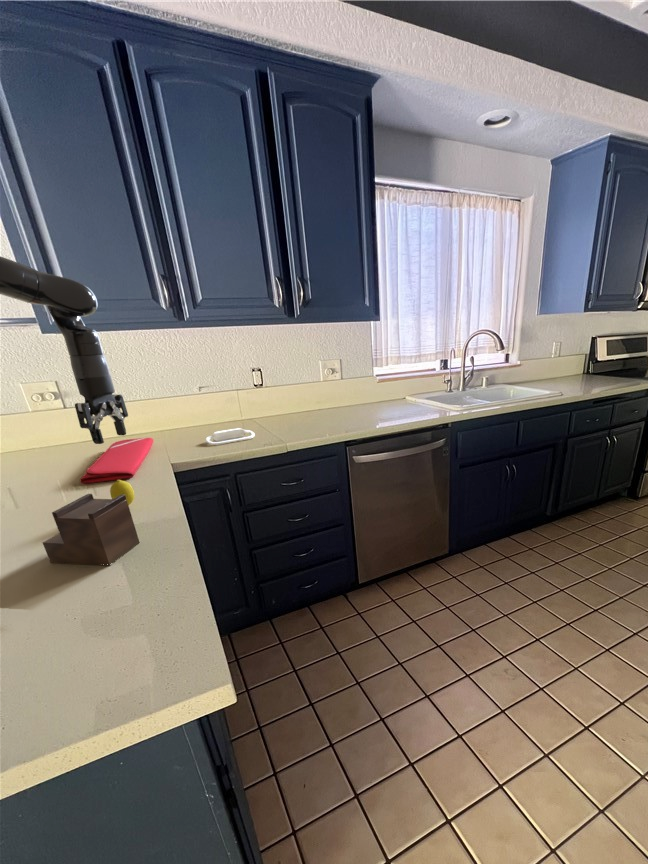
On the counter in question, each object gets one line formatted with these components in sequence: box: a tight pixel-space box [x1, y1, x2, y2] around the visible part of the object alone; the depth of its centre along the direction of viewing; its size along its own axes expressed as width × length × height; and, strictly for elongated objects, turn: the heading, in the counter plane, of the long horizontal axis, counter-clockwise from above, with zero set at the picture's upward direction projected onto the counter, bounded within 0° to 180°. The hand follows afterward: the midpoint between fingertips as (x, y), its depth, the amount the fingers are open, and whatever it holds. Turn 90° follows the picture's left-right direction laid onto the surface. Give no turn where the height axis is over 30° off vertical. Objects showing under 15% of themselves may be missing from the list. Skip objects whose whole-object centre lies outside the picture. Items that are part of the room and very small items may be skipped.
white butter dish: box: [205, 427, 256, 446], centre depth 179 cm, size 20×8×4 cm, turn 125°
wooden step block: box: [42, 493, 140, 566], centre depth 93 cm, size 14×10×12 cm
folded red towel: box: [79, 437, 154, 484], centre depth 154 cm, size 16×41×4 cm, turn 17°
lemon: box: [109, 479, 135, 507], centre depth 117 cm, size 6×6×8 cm
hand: (111, 439), depth 111 cm, fingers open, 8 cm apart
